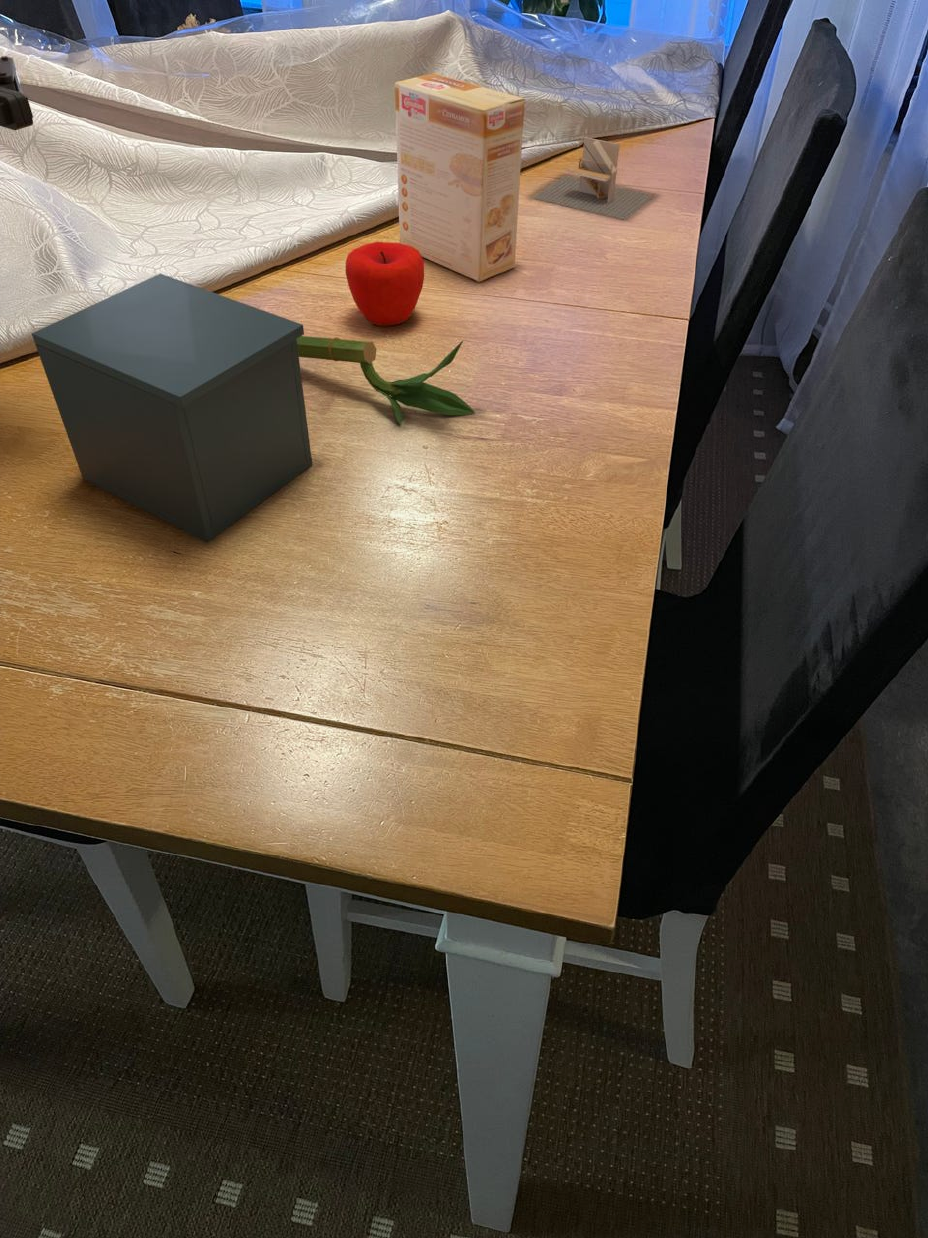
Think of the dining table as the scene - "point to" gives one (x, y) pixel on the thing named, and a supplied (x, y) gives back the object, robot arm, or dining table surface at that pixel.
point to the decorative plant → (401, 390)
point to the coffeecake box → (459, 173)
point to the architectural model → (595, 184)
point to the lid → (169, 338)
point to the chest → (187, 439)
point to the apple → (385, 281)
